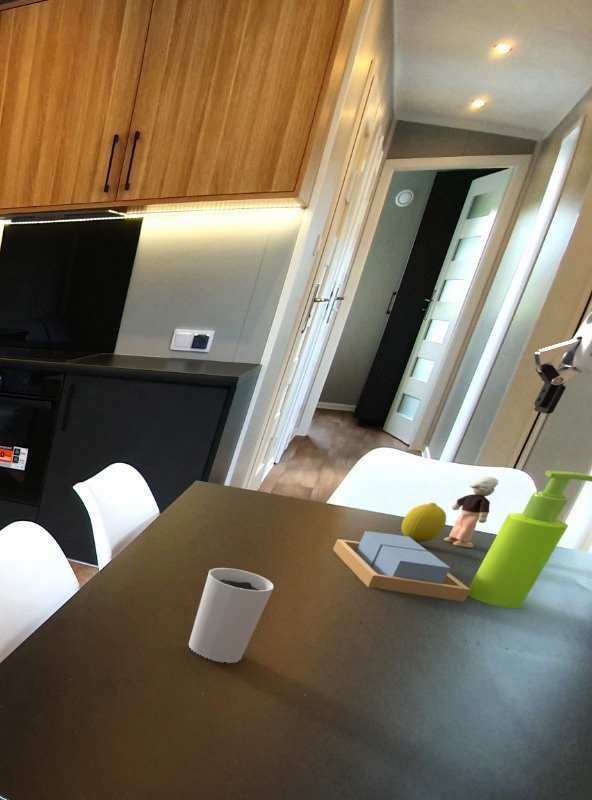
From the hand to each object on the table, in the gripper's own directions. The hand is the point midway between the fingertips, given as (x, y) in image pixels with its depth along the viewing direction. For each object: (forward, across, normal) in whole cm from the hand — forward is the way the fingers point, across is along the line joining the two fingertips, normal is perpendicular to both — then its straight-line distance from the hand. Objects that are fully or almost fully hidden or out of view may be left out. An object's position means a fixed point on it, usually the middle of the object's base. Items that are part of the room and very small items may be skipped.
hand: (586, 415), depth 92 cm
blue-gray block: (+26, -16, -3) cm, 31 cm away
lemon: (+26, -6, +14) cm, 31 cm away
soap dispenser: (+26, -5, -12) cm, 30 cm away
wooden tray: (+26, -16, -7) cm, 32 cm away
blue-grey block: (+26, -16, -11) cm, 32 cm away
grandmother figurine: (+26, +2, +19) cm, 33 cm away
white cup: (+26, -47, -48) cm, 72 cm away
